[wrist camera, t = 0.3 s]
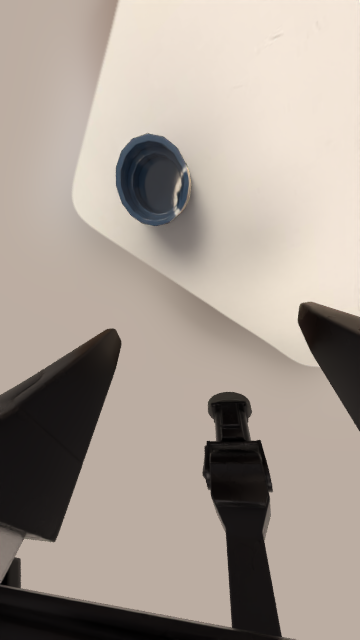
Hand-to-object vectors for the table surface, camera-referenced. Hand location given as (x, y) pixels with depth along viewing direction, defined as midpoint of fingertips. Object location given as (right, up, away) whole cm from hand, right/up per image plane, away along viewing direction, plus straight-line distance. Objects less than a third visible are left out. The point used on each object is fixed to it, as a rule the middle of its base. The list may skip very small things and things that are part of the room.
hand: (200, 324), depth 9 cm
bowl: (-3, +14, +10) cm, 17 cm away
